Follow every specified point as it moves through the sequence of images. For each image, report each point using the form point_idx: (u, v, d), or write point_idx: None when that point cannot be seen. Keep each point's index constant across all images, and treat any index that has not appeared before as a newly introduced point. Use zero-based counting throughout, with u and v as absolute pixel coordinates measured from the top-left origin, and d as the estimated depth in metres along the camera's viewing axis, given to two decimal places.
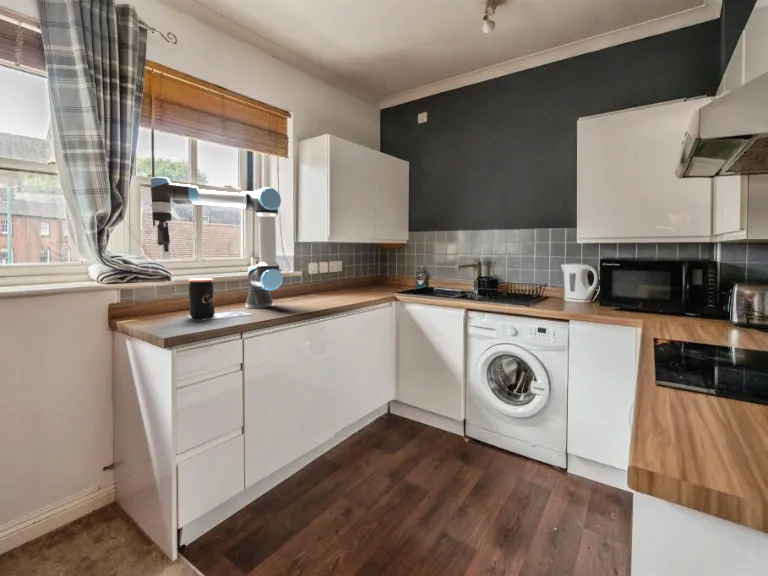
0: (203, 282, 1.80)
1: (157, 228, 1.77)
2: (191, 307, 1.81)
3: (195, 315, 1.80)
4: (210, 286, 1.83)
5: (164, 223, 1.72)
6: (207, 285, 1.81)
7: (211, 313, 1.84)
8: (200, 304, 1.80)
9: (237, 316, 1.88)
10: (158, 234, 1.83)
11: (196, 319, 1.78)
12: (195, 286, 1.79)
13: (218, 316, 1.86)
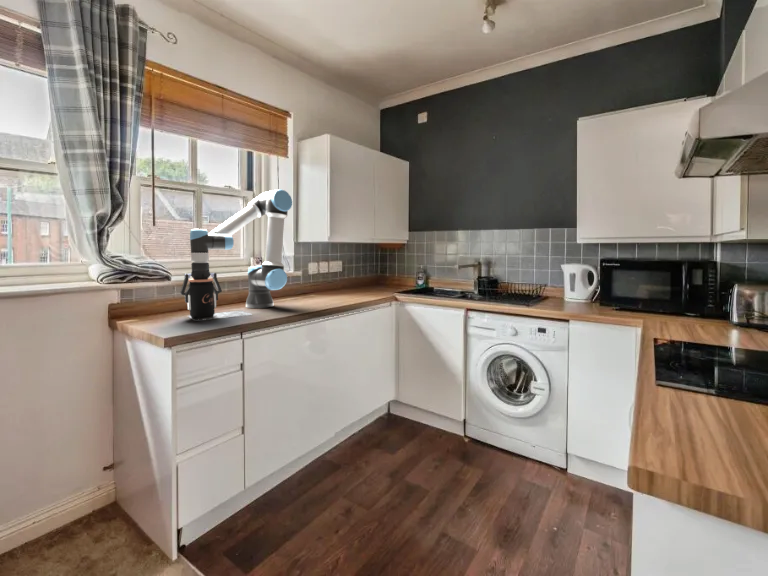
0: (203, 282, 1.80)
1: None
2: (191, 307, 1.81)
3: (195, 315, 1.80)
4: (210, 286, 1.83)
5: (185, 275, 1.80)
6: (207, 285, 1.81)
7: (211, 313, 1.84)
8: (200, 304, 1.80)
9: (237, 316, 1.88)
10: None
11: (196, 319, 1.78)
12: (195, 286, 1.79)
13: (218, 316, 1.86)
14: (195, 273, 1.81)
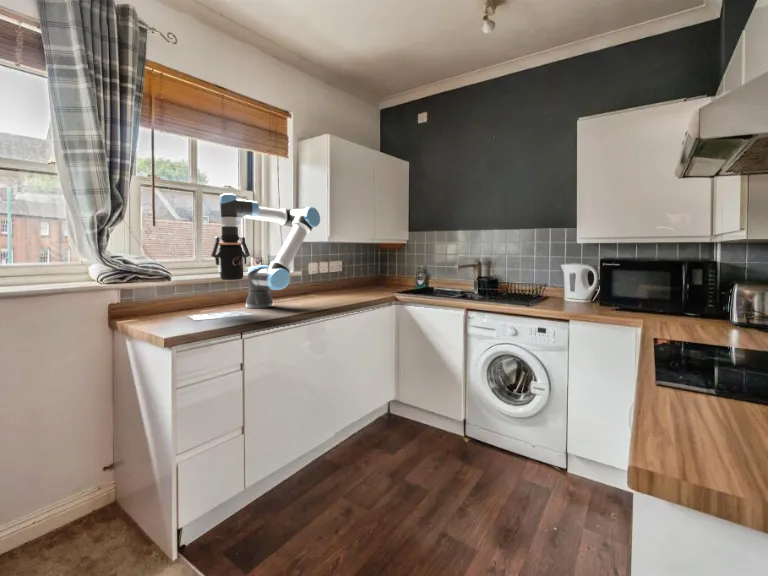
0: (233, 245, 1.87)
1: None
2: (222, 269, 1.88)
3: (226, 277, 1.88)
4: (239, 249, 1.90)
5: (215, 238, 1.87)
6: (237, 248, 1.88)
7: (240, 275, 1.91)
8: (230, 266, 1.87)
9: (237, 316, 1.88)
10: (243, 247, 1.96)
11: (196, 319, 1.78)
12: (226, 248, 1.86)
13: (218, 316, 1.86)
14: (225, 236, 1.88)
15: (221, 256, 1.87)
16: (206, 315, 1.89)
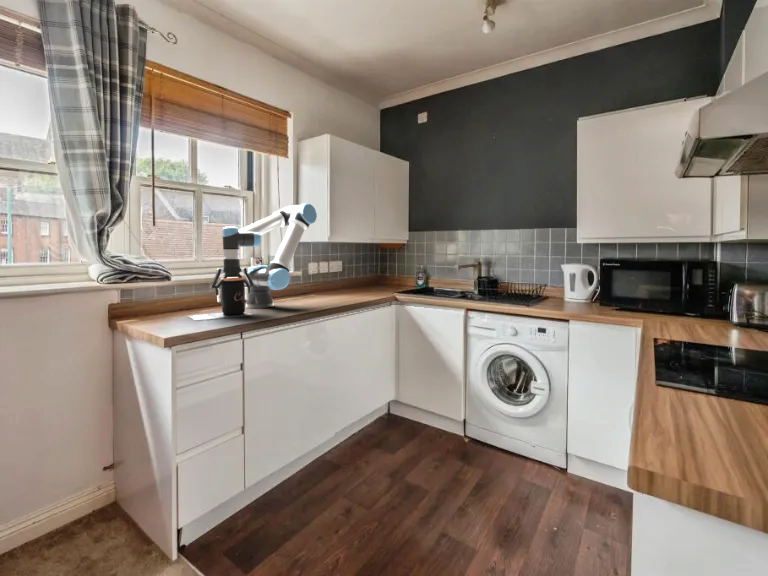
0: (235, 281, 1.89)
1: None
2: (224, 304, 1.90)
3: (227, 312, 1.89)
4: (241, 284, 1.92)
5: (217, 269, 1.88)
6: (239, 283, 1.90)
7: (242, 310, 1.93)
8: (232, 302, 1.89)
9: (237, 316, 1.88)
10: None
11: (196, 319, 1.78)
12: (228, 284, 1.88)
13: (218, 316, 1.86)
14: (227, 269, 1.90)
15: (223, 292, 1.89)
16: (206, 315, 1.89)
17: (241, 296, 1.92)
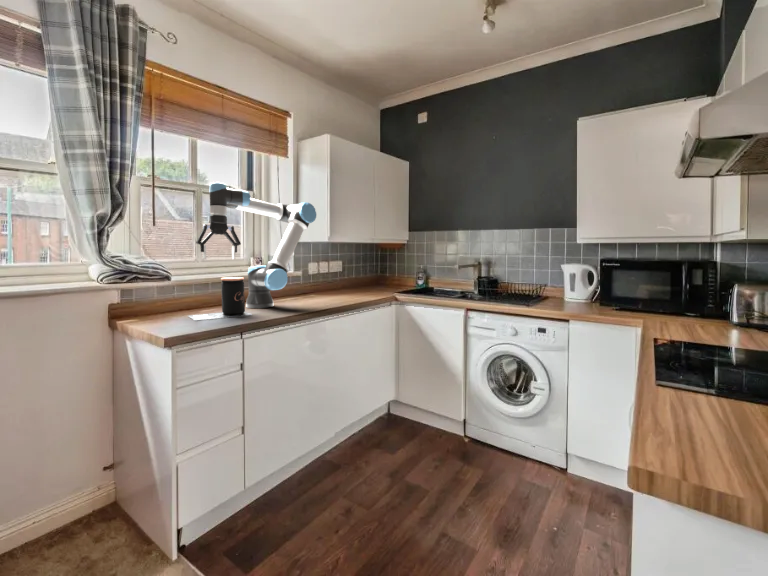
0: (235, 281, 1.89)
1: None
2: (224, 304, 1.90)
3: (227, 312, 1.89)
4: (241, 284, 1.92)
5: (203, 225, 1.84)
6: (239, 283, 1.90)
7: (242, 310, 1.93)
8: (232, 302, 1.89)
9: (237, 316, 1.88)
10: None
11: (196, 319, 1.78)
12: (228, 284, 1.88)
13: (218, 316, 1.86)
14: (214, 225, 1.86)
15: (223, 292, 1.89)
16: (206, 315, 1.89)
17: (241, 296, 1.92)
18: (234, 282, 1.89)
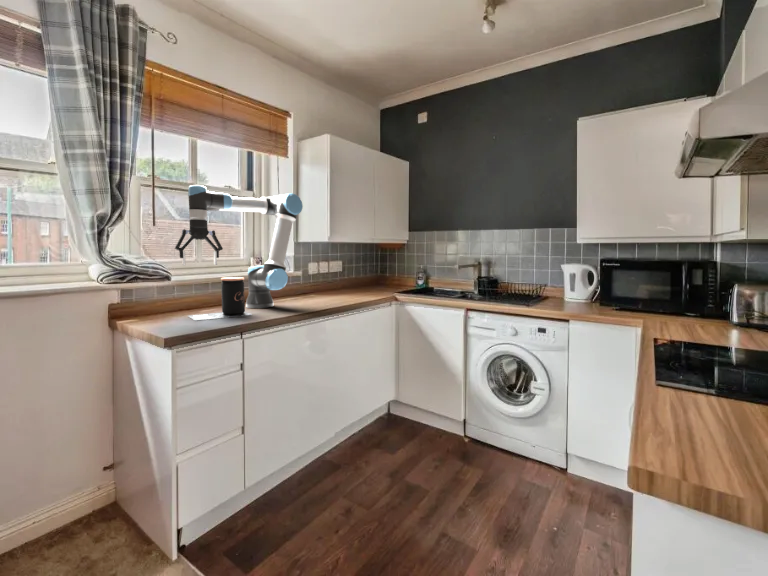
0: (235, 281, 1.89)
1: None
2: (224, 304, 1.90)
3: (227, 312, 1.89)
4: (241, 284, 1.92)
5: (182, 230, 1.77)
6: (239, 283, 1.90)
7: (242, 310, 1.93)
8: (232, 302, 1.89)
9: (237, 316, 1.88)
10: None
11: (196, 319, 1.78)
12: (228, 284, 1.88)
13: (218, 316, 1.86)
14: (193, 230, 1.79)
15: (223, 292, 1.89)
16: (206, 315, 1.89)
17: (241, 296, 1.92)
18: (234, 282, 1.89)
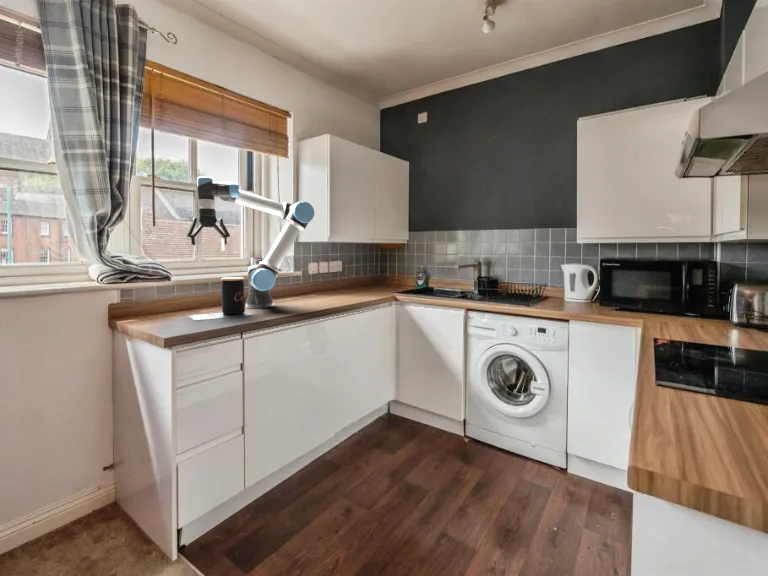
0: (235, 281, 1.89)
1: None
2: (224, 304, 1.90)
3: (227, 312, 1.89)
4: (241, 284, 1.92)
5: (193, 219, 1.90)
6: (239, 283, 1.90)
7: (242, 310, 1.93)
8: (232, 302, 1.89)
9: (237, 316, 1.88)
10: (222, 228, 2.01)
11: (196, 319, 1.78)
12: (228, 284, 1.88)
13: (218, 316, 1.86)
14: (203, 219, 1.92)
15: (223, 292, 1.89)
16: (206, 315, 1.89)
17: (241, 296, 1.92)
18: (234, 282, 1.89)
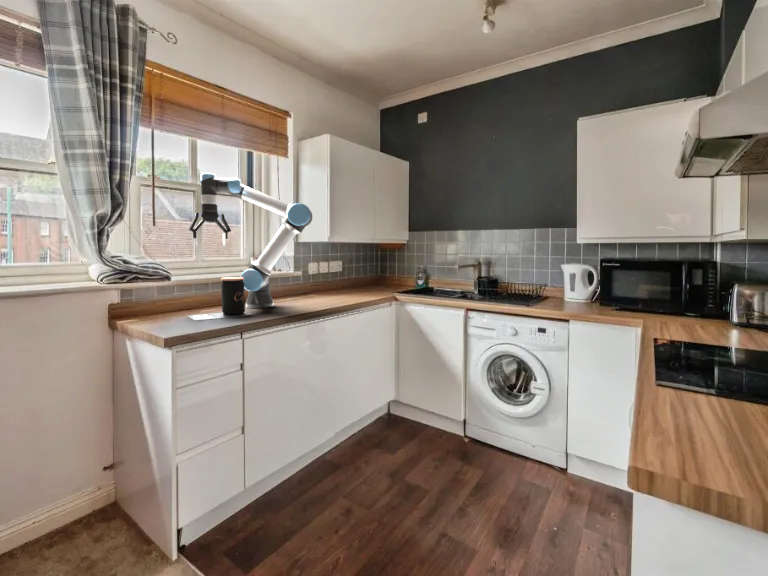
0: (235, 281, 1.89)
1: None
2: (224, 304, 1.90)
3: (227, 312, 1.89)
4: (241, 284, 1.92)
5: (195, 213, 1.98)
6: (239, 283, 1.90)
7: (242, 310, 1.93)
8: (232, 302, 1.89)
9: (237, 316, 1.88)
10: (223, 223, 2.07)
11: (196, 319, 1.78)
12: (228, 284, 1.88)
13: (218, 316, 1.86)
14: (205, 213, 2.00)
15: (223, 292, 1.89)
16: (206, 315, 1.89)
17: (241, 296, 1.92)
18: (234, 282, 1.89)
